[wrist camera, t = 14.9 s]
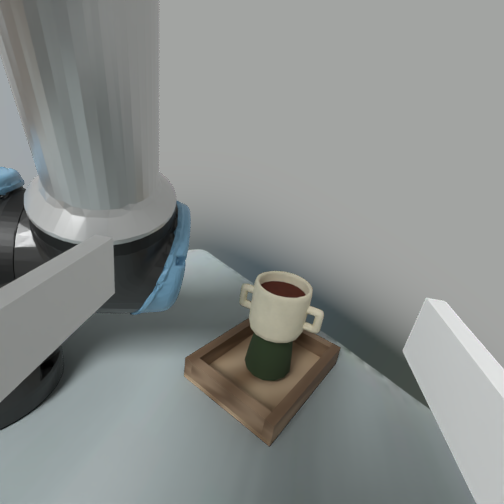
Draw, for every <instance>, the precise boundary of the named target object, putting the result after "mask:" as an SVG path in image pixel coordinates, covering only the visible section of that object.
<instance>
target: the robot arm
mask: <svg viewBox="0 0 504 504" xmlns="http://www.w3.org/2000/svg"><path fill="white" fill-rule="evenodd" d="M0 56H1V59H2V62H3V65H4V68H5V71H6V75H7V78H8V81H9V84H10V87H11V90H12V93H13V96H14V99H15V103H16V106H17V109H18V112H19V115H20V118H21V122H22V125H23V127H24V131H25V134H26V137H27V140H28V144H29V147H30V150H31V153H32V156H33V159H34V162H35V166H36V168H37V172H38V175H37V176H36V177H35V178H34V179H33V180H32V181H31V182H30V184H29V185H28V187H27V189H24V188H23V185H24V180H23V179H22V178H21V176H20V174H19V173H18V172H17V171H16V170H14V169H11V168H9V169H8V168H5V167H0V429H2V428H4V427H6V426H8V425H9V424H11V423H13V422H15V421H17V420H18V419H20V418H21V417H23V416H24V415H26V414H27V413H29V412H30V411H32V410H33V409H34V408H35V407H37V406H38V405H39V404H40V403H41V402H42V401H44V400H45V399H46V397H47V396H48V395H49V394H50V393H51V392H52V391H53V389H54V388H55V387H56V385H57V384H58V382H59V380H60V378H61V375H62V372H63V367H64V362H63V353H62V347H61V344H62V343H63V342H64V341H65V340H66V339H67V338H68V337H69V336H70V335H71V334H73V333H74V332H75V331H76V330H77V329H78V328H79V327H80V326H81V325H82V324H83V323H84V322H85V321H86V320H87V319H88V318H89V317H90V316H91V315H92V314H93V313H130V314H133V315H136V314H140V313H144V312H162V311H165V310H167V309H169V308H170V307H171V306H172V305H173V304H174V303H175V301H176V299H177V297H178V295H179V292H180V288H181V285H182V281H183V276H184V271H185V260H186V257H187V252H188V247H189V238H190V224H191V222H190V221H191V219H190V210H189V207H188V206H187V205H185V204H183V203H180V202H179V201H176V194H175V190H174V188H173V186H172V184H171V183H170V181H169V180H168V179H167V178H166V177H165V176H164V175H163V174H162V173H160V172H159V0H0ZM403 353H404V355H405V357H406V359H407V361H408V364H409V366H410V367H411V370H412V372H413V374H414V376H415V378H416V380H417V382H418V384H419V386H420V388H421V390H422V392H423V395H424V397H425V399H426V401H427V403H428V405H429V407H430V409H431V411H432V413H433V415H434V417H435V419H436V421H437V424H438V426H439V428H440V430H441V432H442V434H443V436H444V438H445V440H446V442H447V444H448V446H449V448H450V450H451V453H452V455H453V457H454V459H455V461H456V463H457V465H458V467H459V469H460V471H461V473H462V475H463V477H464V479H465V482H466V484H467V486H468V488H469V490H470V492H471V494H472V496H473V498H474V500H475V502H476V504H504V369H503V368H502V367H501V366H500V364H499V363H498V362H497V361H496V360H495V359H494V357H493V356H492V355H491V354H490V353H489V351H487V349H486V348H485V347H484V346H483V345H482V343H481V342H480V341H479V340H478V339H477V338H476V336H475V335H474V334H473V333H472V332H471V331H470V329H469V328H468V327H467V326H466V325H465V324H464V322H463V321H462V320H461V319H460V318H459V317H458V315H457V314H456V313H455V312H454V311H453V310H452V309H451V307H450V306H449V305H448V304H447V303H446V301H441V300H436V299H431V298H426V299H425V301H424V303H423V306H422V308H421V310H420V312H419V315H418V317H417V319H416V321H415V324H414V326H413V328H412V331H411V333H410V335H409V337H408V340H407V342H406V344H405V346H404V349H403Z"/></svg>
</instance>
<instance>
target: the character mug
mask: <svg viewBox="0 0 504 504" xmlns="http://www.w3.org/2000/svg"><path fill="white" fill-rule="evenodd" d="M312 289H313V288H312V287H311V285H310V284H309V283H308V282H307V281H306V280H305V279H303V278H302V277H300V276H298V275H295V274H291V273H288V272H283V271H269V272H263V273H261V274H260V275H258V276H257V278H256V281H255V284H254V286H253V285H250V284H243V285H242V287H241V294H240V300H239V302H240V305H242V306H244V307H246V308H249V309H250V313H249V321H250V327H251V329H252V330H253V332H254V333H253V336H252V338H251V341H250V344H249V347H248V350H247V353H246V356H245V363H246V367H247V369H248V370H249V371H250V372H251V374H252V375H253V376H255V377H257V378H259V379H262V380H267V381H275V380H278V379H281V378H284V377H285V376H286V375H287V374H288V373H289V372H290V365H291V357H292V345H293V341H294V340H296V339H297V338H298V336H299V335H300V334H301V333H302V332H303V330H306V331H308V332H311V333H318V332H319V331H320V328H321V325H322V321H323V318H324V312H323V311H322V310H320V309H317V308H315V307H312V306H310V302H311V298H312ZM248 292H250V293H253V295H252V301H249V300H247V294H248ZM307 314H311V315H313V316H315V319H314V322H313V325H312V324H310V323H307V322H305V321H306V318H307Z"/></svg>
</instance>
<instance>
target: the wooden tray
mask: <svg viewBox="0 0 504 504" xmlns="http://www.w3.org/2000/svg"><path fill="white" fill-rule="evenodd" d="M253 333H254V332H253V330H252V329H251V327H250V321H249V318H248V319H246V320H245V321H243V322H242V323H240V324H238V325H237V326H235V327H234V328H232V329H230V330H229V331H227V332H226V333H224V334H222V335H221V336H219V337H218V338H216V339H214V340H213V341H211V342H210V343H208V344H206V345H205V346H203V347H202V348H200V349H199V350H197V351H195V352H194V353H192V354H191V355H189V356H187V357H186V358H185V370H184V377H186V378H187V379H188V380H189V381H190V382H192V383H193V384H194V385H195V386H197V387H198V388H199V389H200V390H201V391H203V392H204V393H205V394H206V395H207V396H209V397H210V398H211V399H212V400H214V401H215V402H216V403H217V404H218V405H220V406H221V407H222V408H223V409H224V410H226V411H227V412H228V413H229V414H231V415H232V416H233V417H234V418H235V419H237V420H238V421H239V422H240V423H241V424H243V425H244V426H245V427H246V428H248V429H249V430H250V431H251V432H252V433H254V434H255V435H256V436H257V437H258V438H260V439H261V440H262V441H263V442H265V443H266V444H267V445H268V446H270V445H271V444H272V443H273V441H274V440H275V439H276V438H277V436H278V435H279V434H280V433H281V431H282V430H283V429H284V428H285V426H286V425H287V424H288V423H289V421H290V420H291V419H292V418H293V416H294V415H295V414H296V413H297V411H298V410H299V409H300V408H301V406H302V405H303V404H304V403H305V401H306V400H307V399H308V398H309V396H310V395H311V394H312V393H313V391H314V390H315V389H316V388H317V386H318V385H319V384H320V383H321V381H322V380H323V379H324V378H325V376H326V375H327V374H328V373H329V371H330V370H331V369H332V368H333V366H334V365H335V364H336V361H337V358H338V354H339V351H340V347H338V346H337V345H335V344H333V343H331V342H329V341H327V340H325V339H324V338H322V337H320V336H318V335H316V334H314V333H311V332H308V331H306V330H303V332H302V333H301V334H300V335H299V336H298V338H297V339H296V340H294V341H293V345H292V357H291V365H290V372H289V373H288V374H287V375H286V376H285V377H284V378H281V379H278V380H275V381H267V380H262V379H259V378H257V377H255V376H253V375H252V374H251V372H250V371H249V370H248V369H247V367H246V363H245V356H246V353H247V350H248V347H249V344H250V341H251V338H252V336H253Z"/></svg>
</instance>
